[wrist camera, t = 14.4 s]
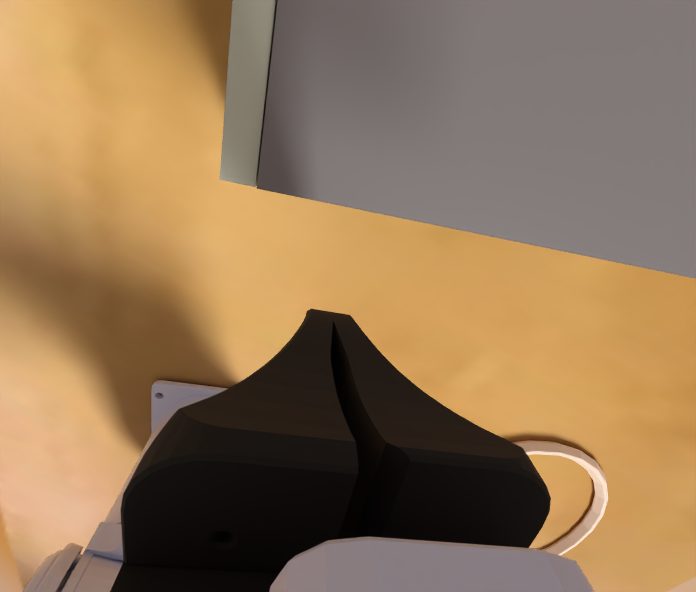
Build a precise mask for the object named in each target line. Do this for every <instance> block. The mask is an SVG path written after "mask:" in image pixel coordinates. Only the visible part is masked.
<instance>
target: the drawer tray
mask: <svg viewBox="0 0 696 592" xmlns="http://www.w3.org/2000/svg"><path fill="white" fill-rule="evenodd" d="M277 2H278V0H232V14H231V28H230V42H229V56H228V70H227V85H226V99H225V113H224V127H223V141H222V155H221V169H220V180H224V181H229V182H234V183H238V184H243V185H248V186H253V187H256V186H257V181H258V172H259V163H260V154H261V145H262V136H263V127H264V118H265V109H266V101H267V92H268V83H269V74H270V65H271V56H272V47H273V38H274V29H275V20H276V11H277Z"/></svg>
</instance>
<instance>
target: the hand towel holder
mask: <svg viewBox="0 0 696 592" xmlns="http://www.w3.org/2000/svg"><path fill="white" fill-rule="evenodd" d="M512 443H514V444H516V445H518V446H520V447H522V448H523V449H524V451H525V452H526V454H527V455H530V454H544V455H559V456H563V457H566V458H569V459H572V460H574V461H575V462H577V463H578V464H580V465H581V466H583V467H584V468H585V469H586V470H587V472H588V473H589V475H590V476H591V478H592V479H593V481H594V488H595V495H594V498H593V502H592V506H591V507H590V509H589V510H588V512H587V514H586V515H585V517H584V518H583V520H582V521H581V522H580V523H579V524H578V525H577V526H576V527H575V528H574V529H573V530H572V531H571V532H570V533H569V534H567V535H566V536H564V537H563V538H561V539H560V540H558V541H557V542H555V543H554V544H552V545H551V546H549V547H546V548H544V549H542V550H543V551H546V552H550V553H553V554H557V555H560V556H561V555H562V554H564V553H565V552H567V551H568V550H570V549H572V548H573V547H575V546H576V545H578V544H579V543H580V542H581V541H582V540H583V539H584V538H585V537H586V536H587V535H588V534H590V533H591V532H592V531H593V529H594V528H595V526H596V525H597V523H598V522H599V521H600V519H601V518H602V516H603V514H604V511H605V508H606V504H607V501H608V493H607V484H606V476H605V474H604V473H603V471H602V470H601V468H600V466H599V465H598V463H597V462H596V461H595V460H593V459H592V458H590V457H589V456H588V455H586V454H585V453H583V452H582V451H580V450H578V449H576V448H572V447H569V446H566V445H563V444H560V443H556V442H550V441H534V440H525V441H518V442H512Z"/></svg>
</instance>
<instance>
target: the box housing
mask: <svg viewBox="0 0 696 592" xmlns="http://www.w3.org/2000/svg"><path fill="white" fill-rule="evenodd" d="M257 189H262V190H267V191H272V192H277V193H282V194H286V195H291V196H296V197H301V198H306V199H311V200H316V201H321V202H325V203H330V204H335V205H340V206H345V207H350V208H355V209H360V210H364V211H369V212H374V213H379V214H384V215H389V216H394V217H399V218H403V219H408V220H413V221H418V222H423V223H428V224H433V225H438V226H442V227H447V228H452V229H457V230H462V231H467V232H472V233H476V234H481V235H486V236H491V237H496V238H501V239H506V240H511V241H515V242H520V243H525V244H530V245H535V246H540V247H545V248H550V249H554V250H559V251H564V252H569V253H574V254H579V255H584V256H589V257H593V258H598V259H603V260H608V261H613V262H618V263H623V264H627V265H632V266H637V267H642V268H647V269H652V270H657V271H662V272H666V273H671V274H676V275H681V276H686V277H691V278H696V0H278V2H277V11H276V20H275V29H274V38H273V47H272V56H271V65H270V74H269V83H268V92H267V101H266V109H265V118H264V127H263V136H262V145H261V154H260V163H259V172H258V181H257Z"/></svg>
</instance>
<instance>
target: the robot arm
mask: <svg viewBox="0 0 696 592" xmlns="http://www.w3.org/2000/svg"><path fill="white" fill-rule="evenodd" d="M158 393H162V394H163V395H160V394H158ZM151 429H152V435H151V436H150V438H149V440H148V442H147V444H146V446H145V447H144V449H143V451H142V453H141V455H140V457H139V459H138V460H137V462H136V464H135V466H134V468H133V470H132V471H131V473H130V475H129V477H128V479H127V481H126V483H125V484H124V486H123V488H122V490H121V492H120V494H119V496H118V497H117V499H116V501H115V503H114V505H113V507H112V508H111V510H110V512H109V514H108V516H107V518H106V520H105V521H104V522H101V523H100V524H99V526H98V528H97V529H96V531H95V533H94V535H93V537H92V539H91V540H90V542H89V544H88V546H87V548H86V549H85V551H84V553H83V555H81V554H80V553H81V551H82V548H83V547H82V546H79V545H77V544H74V543H70V544H68V545H67V546H66V547H65V548H64V549H63V550H60V551H58V552H56V553H54V554H52V555H50V556H49V557H47V558H46V559H45V561H44V562H43V563H42V564H41V566H40V567H39V568H38V570H37V571H36V573H35V574H34V575H33V577H32V578H31V580H30V581H29V583H28V584H27V586H26V587H25V589H24V590H23V592H595V591H594V590H593V588H592V586H591V585H590V583H589V581H588V579H587V578H586V576H585V575H584V573H583V572H582V570H581V569H580V567H579V565H578V564H577V562H576V561H574V560H571V559H569V558H566V557H564V556H560V555H557V554H553V553H550V552H546V551H543V550H540V549H534V548H529V546H530V545H531V543H532V542H533V540H534V539H535V537H536V536H537V534H538V533H539V531H540V530H541V528H542V527H543V524H544V522H545V520H546V518H547V516H548V514H549V511H550V500H551V498H550V495H549V492H548V489H547V486H546V485H545V483H544V481H543V480H542V478H541V476H540V475H539V473H538V472H537V470H536V468H535V467H534V465H533V463H532V462H531V460H530V459H529V457H528V455H527V454H526V452H525V451H524V449H523V448H522V447H520V446H518V445H516V444H514V443H512V442H510V441H508V440H506V439H504V438H501V437H499V436H497V435H495V434H493V433H491V432H489V431H487V430H485V429H483V428H481V427H479V426H477V425H475V424H473V423H472V422H470V421H468V420H466V419H465V418H463V417H461V416H459V415H458V414H456V413H454V412H453V411H451V410H450V409H448V408H446V407H445V406H443V405H442V404H440V403H439V402H437V401H436V400H435V399H433V398H432V397H430V396H429V395H427V394H426V393H425V392H423V391H422V390H421V389H419V388H418V387H417V386H416V385H414V384H413V383H412V382H411V381H410V380H408V379H407V378H406V377H405V376H404V375H403V374H401V373H400V372H399V371H398V370H397V369H396V368H395V367H394V366H393V365H392V364H391V363H390V362H389V361H388V360H387V359H386V358H385V357H384V356H383V355H382V354H381V353H380V351H379V350H378V349H377V348H376V347H375V346H374V345H373V343H372V342H371V341H370V340H369V339H368V337H367V336H366V335H365V334H364V332H363V331H362V330H361V329H360V327H359V326H358V325H357V323H356V322H355V321H354V319H353V318H352V317H351V316H350V315H346V314H340V313H334V312H328V311H321V310H315V309H310V310H308V311H307V313H306V317H305V319H304V321H303V323H302V324H301V326H300V328H299V329H298V330H297V332H296V333H295V334H294V336H293V337H292V338H291V340H290V341H289V342H288V343H287V344H286V345H285V346H284V347H283V348H282V349H281V351H280V352H279V353H278V354H276V355H275V356H274V357H273V358H272V359H271V360H270V361H269V362H268V363H266V364H265V365H264V366H263V367H261V368H260V369H259V370H257V371H256V372H254V373H253V374H252V375H250V376H249V377H247V378H246V379H244V380H243V381H241V382H239V383H238V384H236V385H234V386H232V387H230V388H220V387H212V386H204V385H196V384H188V383H180V382H172V381H164V380H158V381H155V382H154V384H153V385H152V388H151ZM72 570H73V572H72Z"/></svg>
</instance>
